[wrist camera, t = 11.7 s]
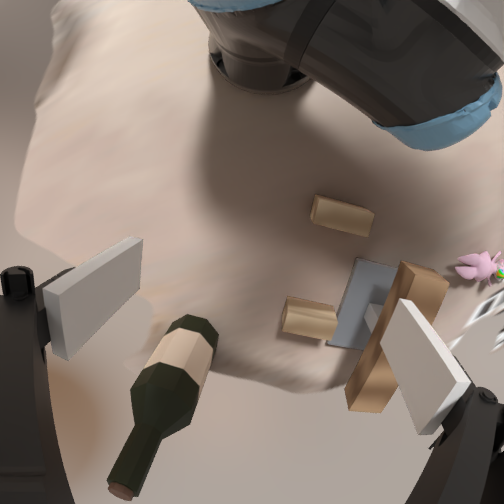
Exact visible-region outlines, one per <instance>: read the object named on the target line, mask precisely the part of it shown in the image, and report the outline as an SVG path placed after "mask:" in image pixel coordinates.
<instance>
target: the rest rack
mask: <svg viewBox="0 0 504 504" xmlns="http://www.w3.org/2000/svg"><path fill="white" fill-rule="evenodd" d="M374 216H375V214H374V213H372V212H370V211H369V210H367V209H365V208H363V207H360V206H357V205H353V204H350V203H346V202H342V201H339V200H335V199H331V198H328V197H324V196H320V195H316V194H315V197H314V201H313V205H312V209H311V213H310V218H311V220H312V222H313V224H317V225H321V226H325V227H329V228H333V229H336V230H340V231H344V232H348V233H352V234H355V235H359V236H363V237H366V238H368V236H369V233H370V229H371V226H372V222H373V219H374ZM337 325H338V321H337V317H336V314H335V311H334V308H333V306H331V305H327V304H322V303H317V302H313V301H308V300H304V299H299V298H295V297H290V296H287V300H286V303H285V306H284V310H283V313H282V331H283V332H288V333H293V334H298V335H302V336H307V337H313V338H318V339H323V340H328V341H331V340H332V337H333V335H334V332H335V330H336V327H337Z"/></svg>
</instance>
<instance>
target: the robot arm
mask: <svg viewBox="0 0 504 504" xmlns="http://www.w3.org/2000/svg"><path fill="white" fill-rule="evenodd" d="M188 2H190V3H191V5H193V6H194V8H195V9H196V11H197V12H198V14H199V15H200V17H201V19H202V20H203V22H204V23H205V25H206V26H207V28H208V29H209V31H210V34H209V41H208V46H209V53H210V56H211V59H212V61H213V63H214V65H215V67H216V68H217V70H218V71H219V72H220V74H221V75H222V76H223V77H224V78H225V79H226V80H227V81H228V82H230V83H231V84H233V85H234V86H236V87H238V88H240V89H242V90H245V91H248V92H251V93H256V94H279V93H284V92H288V91H291V90H293V89H295V88H298V87H299V86H301V85H303V84H304V83H306V82H307V81H308V80H309V79H310V78H312V79H313V80H315V81H317V82H318V83H320V84H321V85H323V86H324V87H326V88H328V89H329V90H331V91H332V92H334V93H335V94H337V95H338V96H340V97H341V98H342V99H344V100H345V101H347V102H348V103H350V104H351V105H352V106H354V107H355V108H357V109H358V110H359V111H361V112H362V113H363V114H365V115H366V116H368V117H369V118H370V119H371V120H372V122H373V123H374V124H375V125H376V126H377V127H379V128H381V129H383V130H386V131H388V132H389V133H391V134H392V135H393V136H395V137H396V138H397V139H398V140H400V141H401V142H402V143H404V144H405V145H406V146H408V147H410V148H413V149H419V150H423V151H433V150H439V149H443V148H446V147H449V146H452V145H454V144H456V143H458V142H460V141H462V140H463V139H465V138H467V137H468V136H470V135H471V134H472V133H474V132H475V131H477V130H478V129H479V128H480V127H481V126H482V125H483V124H484V123H485V122H486V121H487V120H488V119H489V118H490V117H491V112H490V111H491V110H493V109H495V108H497V106H498V104H499V102H500V100H501V97H502V83H501V81H500V77H499V75H498V73H497V72H496V71H497V70H498V69H499V68H500V67H501V66H503V65H504V0H188ZM142 248H143V239H140V238H136V237H132V236H129V237H127V238H126V239H124V240H122V241H120V242H118V243H117V244H115V245H113V246H111V247H110V248H108V249H106V250H104V251H103V252H101V253H99V254H98V255H96V256H94V257H92V258H91V259H89V260H87V261H86V262H84V263H82V264H81V265H79V266H77V267H73V268H70V269H66V270H64V271H62V272H60V273H59V274H57V276H54V277H52V278H51V280H50V279H49V280H47V281H46V282H44V283H42V284H41V285H39V286H38V287H36V288H35V286H34V276H33V271H32V270H31V269H30V268H28V267H25V266H14V267H10V268H7V269H5V270H4V271H2V273H1V274H0V278H1V284H2V290H3V295H0V504H75V502H74V499H73V496H72V493H71V490H70V487H69V484H68V480H67V477H66V473H65V470H64V466H63V462H62V458H61V454H60V449H59V445H58V440H57V435H56V430H55V425H54V419H53V413H52V407H51V400H50V391H49V383H48V373H47V359H46V351H45V346H46V345H47V343H49V342H50V341H51V346H52V351H53V354H55V355H57V356H59V357H61V358H63V359H65V360H67V361H69V360H70V359H71V358H72V357H73V355H75V354H76V352H77V351H78V350H79V349H80V348H81V347H82V346H83V345H84V344H85V343H86V342H87V341H88V340H89V339H90V338H91V337H92V336H93V335H94V334H95V333H96V332H97V331H98V330H99V329H100V328H101V327H102V326H103V325H104V324H105V323H106V322H107V320H108V319H109V318H110V317H111V316H112V315H113V314H114V313H115V312H116V311H117V310H119V309H120V308H121V306H122V305H124V304H125V302H127V301H128V300H129V298H131V297H132V296H133V295H134V294H135V293H136V292H137V291H138V290H139V289H140V275H141V260H142ZM380 344H381V347H382V349H383V351H384V353H385V355H386V358H387V360H388V362H389V365H390V367H391V369H392V371H393V374H394V376H395V378H396V381H397V383H398V386H399V388H400V390H401V392H402V395H403V398H404V400H405V403H406V405H407V408H408V410H409V413H410V415H411V418H412V420H413V423H414V426H415V428H416V431H417V434H418V435H429V434H433V433H434V432H435V431H436V430H437V428H438V427H439V426H440V425H441V424H442V426H443V428H444V431H443V432H442V433H441V435H440V436H439V437H438V438H437V439H436V440H435V441H434V443H433V444H432V445H431V446H430V447H429V449H431V448H432V447H434V449H433V451H432V453H431V456H430V457H429V460H428V462H427V464H426V466H425V468H424V470H423V472H422V474H421V476H420V478H419V480H418V481H417V483H416V485H415V487H414V489H413V491H412V492H411V494H410V496H409V498H408V499H407V501H406V503H405V504H504V451H503V452H501V448H502V446H503V445H504V404H500V403H498V399H497V397H496V396H495V395H494V394H493V393H492V392H491V391H490V390H488V389H486V388H483V387H477V388H476V386H475V385H474V383H473V382H472V380H471V379H470V377H469V376H468V374H467V373H466V371H464V368H463V367H462V366H461V365H460V363H459V361H458V360H457V358H456V357H455V356H454V355H453V354H452V353H451V352H450V351H449V349H448V348H447V347H446V345H445V344H444V343H443V341H442V340H441V338H440V337H439V336H438V334H437V333H436V332H435V330H434V329H433V328H432V326H431V325H430V324H429V322H428V321H427V320H426V319H425V317H424V316H423V315H422V313H421V312H420V311H419V310H418V308H417V307H416V306H415V305H414V303H413V302H412V301H410V300H405V299H401V298H399V301H398V303H397V306H396V308H395V310H394V313H393V315H392V317H391V320H390V322H389V324H388V326H387V329H386V331H385V333H384V335H383V337H382V339H381V342H380Z"/></svg>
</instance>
